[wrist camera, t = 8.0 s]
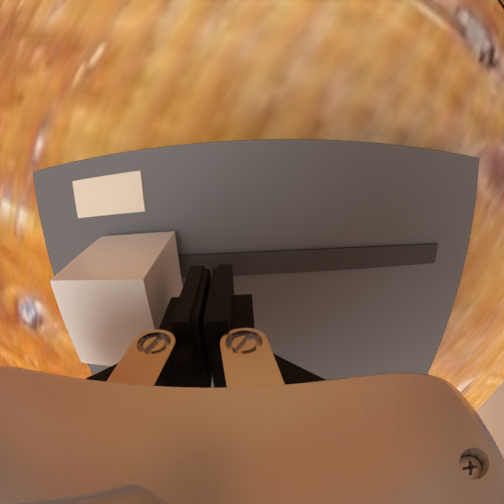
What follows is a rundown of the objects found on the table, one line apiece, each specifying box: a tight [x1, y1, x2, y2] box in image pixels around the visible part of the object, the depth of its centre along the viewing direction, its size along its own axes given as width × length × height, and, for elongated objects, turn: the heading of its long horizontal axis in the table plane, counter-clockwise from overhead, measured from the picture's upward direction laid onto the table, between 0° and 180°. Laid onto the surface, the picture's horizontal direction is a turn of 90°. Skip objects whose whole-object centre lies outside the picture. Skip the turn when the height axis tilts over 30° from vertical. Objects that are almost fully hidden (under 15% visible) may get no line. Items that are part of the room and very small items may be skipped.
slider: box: [50, 231, 183, 366], centre depth 12 cm, size 4×4×5 cm
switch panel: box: [33, 139, 479, 388], centre depth 18 cm, size 26×24×2 cm
